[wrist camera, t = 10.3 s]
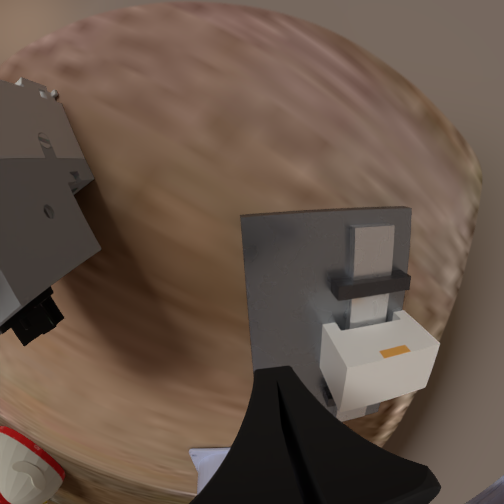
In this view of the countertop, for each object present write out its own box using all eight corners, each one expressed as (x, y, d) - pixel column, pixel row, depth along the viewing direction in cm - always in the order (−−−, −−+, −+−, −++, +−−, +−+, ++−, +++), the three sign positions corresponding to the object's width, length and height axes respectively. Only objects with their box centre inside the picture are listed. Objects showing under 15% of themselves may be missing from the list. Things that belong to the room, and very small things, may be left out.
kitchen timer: (48, 479, 28) (28, 533, 14) (-8, 432, 25) (-38, 484, 10) (78, 474, 27) (56, 544, 12) (8, 419, 23) (-30, 485, 9)
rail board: (373, 405, 24) (383, 421, 22) (258, 427, 24) (260, 446, 21) (404, 206, 19) (423, 211, 16) (240, 214, 18) (241, 221, 16)
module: (395, 350, 21) (425, 387, 16) (319, 367, 21) (339, 412, 16) (403, 309, 20) (440, 343, 15) (322, 324, 20) (347, 367, 15)
